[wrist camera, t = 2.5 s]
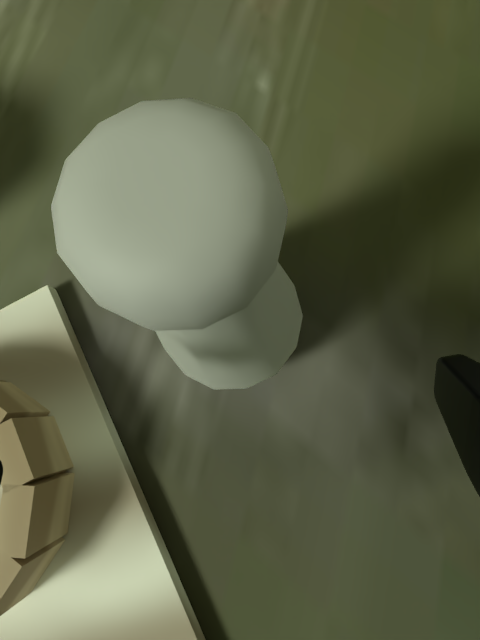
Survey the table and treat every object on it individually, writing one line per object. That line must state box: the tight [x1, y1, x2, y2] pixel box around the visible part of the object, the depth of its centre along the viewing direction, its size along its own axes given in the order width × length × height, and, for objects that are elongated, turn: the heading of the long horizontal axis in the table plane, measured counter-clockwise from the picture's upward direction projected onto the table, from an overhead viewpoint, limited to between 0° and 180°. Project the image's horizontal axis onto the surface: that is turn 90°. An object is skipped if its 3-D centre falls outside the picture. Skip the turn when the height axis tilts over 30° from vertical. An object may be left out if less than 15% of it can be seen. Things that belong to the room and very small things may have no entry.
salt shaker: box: [51, 98, 303, 389], centre depth 13 cm, size 6×6×13 cm
